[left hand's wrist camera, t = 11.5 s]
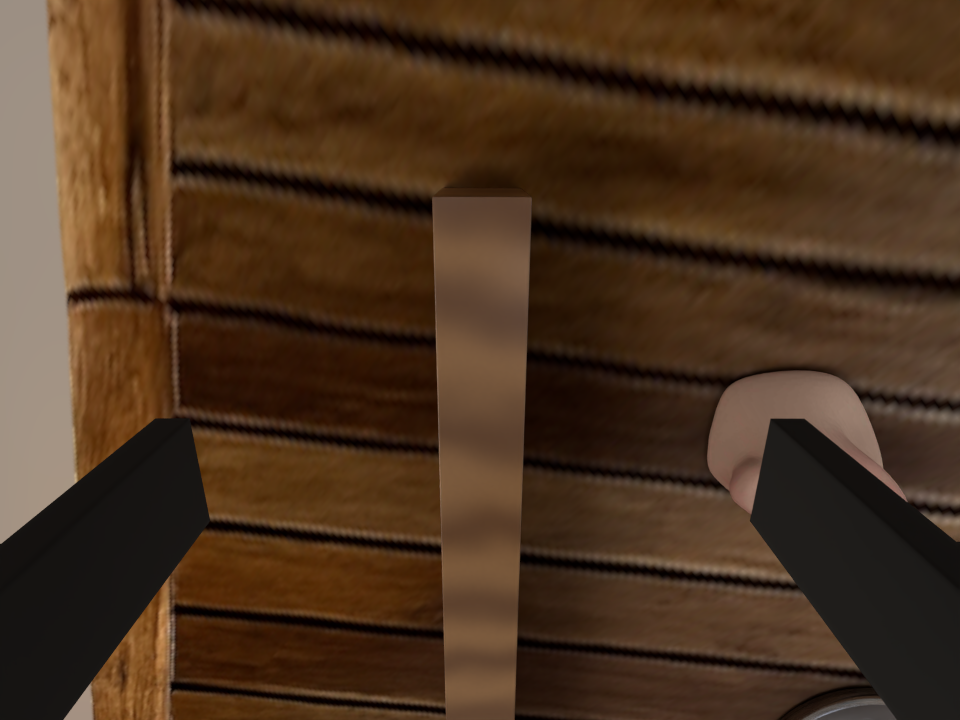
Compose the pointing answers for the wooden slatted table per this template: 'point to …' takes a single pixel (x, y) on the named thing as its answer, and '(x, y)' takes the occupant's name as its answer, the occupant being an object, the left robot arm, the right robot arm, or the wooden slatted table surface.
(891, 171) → the wooden slatted table surface
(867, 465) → the beige rounded piece
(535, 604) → the wooden slatted table surface
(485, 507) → the beam
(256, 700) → the wooden slatted table surface
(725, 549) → the wooden slatted table surface
